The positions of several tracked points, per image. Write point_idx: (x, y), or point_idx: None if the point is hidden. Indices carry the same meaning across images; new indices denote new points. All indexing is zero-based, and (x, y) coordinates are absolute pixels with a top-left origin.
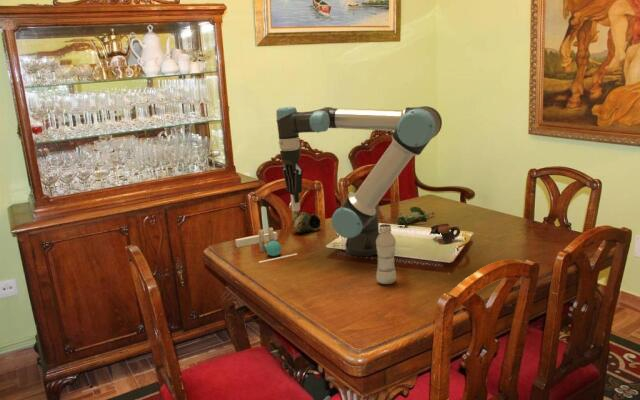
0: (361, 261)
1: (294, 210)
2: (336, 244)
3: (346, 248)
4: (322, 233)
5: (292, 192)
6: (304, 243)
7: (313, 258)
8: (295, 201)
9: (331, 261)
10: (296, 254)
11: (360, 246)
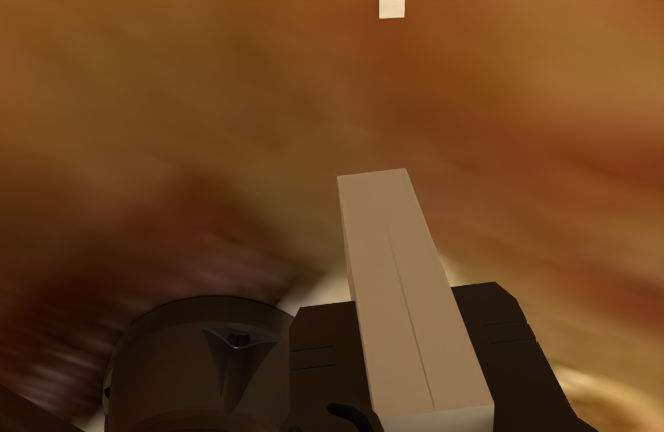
0: (41, 300)
1: (339, 194)
2: None
3: (225, 314)
4: (656, 318)
5: None
6: (575, 158)
7: (232, 86)
8: (310, 326)
9: (113, 164)
10: (379, 6)
11: (120, 375)
